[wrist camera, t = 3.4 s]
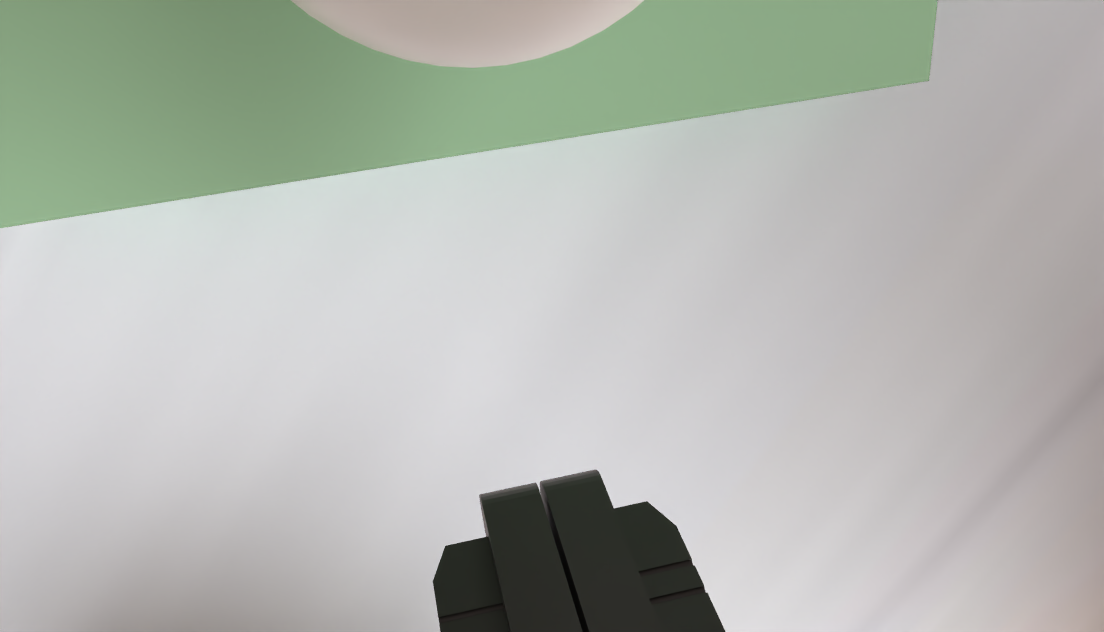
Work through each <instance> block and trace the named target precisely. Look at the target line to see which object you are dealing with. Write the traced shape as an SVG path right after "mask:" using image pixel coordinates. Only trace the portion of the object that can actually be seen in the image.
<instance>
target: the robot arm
mask: <svg viewBox="0 0 1104 632" xmlns="http://www.w3.org/2000/svg"><path fill="white" fill-rule="evenodd" d="M540 493H541V494H540ZM479 497H480V504H481V510H482V516H483V521H484V527H485V533H486V537H484V538H479V539H475V540H470V541H466V542H461V543H457V544H452V545H448V546H445V549H444V551H443V554H442V557H441V560H440V563H439V566H438V568H437V571H436V574H435V577H434V580H433V585H434V591H435V598H436V605H437V611H438V618H439V623H440V631H441V632H725V630H724V628H723V625H722V623H721V621H720V619H719V617H718V615H717V613H716V610H715V608H714V606H713V604H712V602H711V600H710V597H709V595H708V593H706V592H705V589H704V585H703V582H702V580H701V578H700V576H699V574H698V572H697V569H696V567H695V565H694V566H693V564H692V559H691V557H690V554H689V552H688V550H687V548H686V546H685V544H684V541H683V539H682V537H681V535H680V533H679V531H678V529H677V526H676V525H674V524H673V523H672V522H671V521H670V520H668V519H667V518H666V517H665V516H664V515H663V514H661V513H660V512H659V511H658V510H657V509H655V508H654V507H653V506H652V505H651V504H650V503H648V502H647V501H646V502H642V503H637V504H633V505H628V506H624V507H619V508H613V506H612V503H611V501H610V498H609V496H608V493H607V491H606V488H605V485H604V483H603V480H602V478H601V476H600V474H599V472H598V471H597V470H591V471H586V472H582V473H577V474H572V475H568V476H563V477H558V478H554V479H549V480H544V481H540V491H539V488H538V486H537V484H536V483H532V484H527V485H522V486H518V487H513V488H508V489H504V490H499V491H494V492H490V493H485V494H480V495H479Z"/></svg>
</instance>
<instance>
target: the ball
mask: <svg viewBox="0 0 1104 632" xmlns="http://www.w3.org/2000/svg"><path fill="white" fill-rule="evenodd" d="M291 1H292V2H293V3H295V4H296V5H297V6H298V7H300V8H301V9H302V10H303V11H305V12H306V13H307V14H308V15H310V16H311V17H313V18H315V19H316V20H318V21H319V22H321V23H323V24H324V25H326V26H327V27H329V28H331V29H332V30H334V31H336V32H337V33H339V34H340V35H342V36H345V37H347V38H349V39H351V40H353V41H355V42H358V43H360V44H362V45H364V46H366V47H368V48H371V49H373V50H376V51H379V52H382V53H385V54H388V55H391V56H395V57H398V58H401V59H404V60H408V61H413V62H419V63H425V64H430V65H436V66H444V67H465V68H479V67H491V66H503V65H510V64H515V63H519V62H524V61H528V60H533V59H538V58H541V57H544V56H547V55H550V54H552V53H555V52H558V51H561V50H564V49H566V48H569V47H572V46H574V45H576V44H578V43H580V42H582V41H584V40H586V39H587V38H589V37H591V36H593V35H595V34H597V33H599V32H601V31H603V30H605V29H606V28H608V27H609V26H611V25H612V24H614V23H615V22H617V21H618V20H620V19H621V18H623V17H624V16H625V15H627V14H628V13H630V12H631V11H633V10H634V9H635V8H636V7H637V6H638V5H639V4H641V3H642V2H643V1H644V0H291Z"/></svg>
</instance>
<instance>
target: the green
mask: <svg viewBox="0 0 1104 632" xmlns="http://www.w3.org/2000/svg"><path fill="white" fill-rule="evenodd" d="M937 1H938V0H644V1H643V2H642V3H641V4H639V5H638V6H637V7H636V8H635V9H634V10H633V11H631V12H630V13H628V14H627V15H625V16H624V17H623V18H621V19H620V20H618V21H617V22H615V23H614V24H612V25H611V26H609V27H608V28H606V29H605V30H603V31H601V32H599V33H597V34H595V35H593V36H591V37H589V38H587V39H586V40H584V41H582V42H580V43H578V44H576V45H574V46H572V47H569V48H566V49H564V50H561V51H558V52H555V53H552V54H550V55H547V56H544V57H541V58H538V59H533V60H528V61H524V62H519V63H515V64H510V65H503V66H491V67H479V68H465V67H444V66H436V65H430V64H425V63H419V62H413V61H408V60H404V59H401V58H398V57H395V56H391V55H388V54H385V53H382V52H379V51H376V50H373V49H371V48H368V47H366V46H364V45H362V44H360V43H358V42H355V41H353V40H351V39H349V38H347V37H345V36H342V35H340V34H339V33H337V32H336V31H334V30H332V29H331V28H329V27H327V26H326V25H324V24H323V23H321V22H319V21H318V20H316V19H315V18H313V17H311V16H310V15H308V14H307V13H306V12H305V11H303V10H302V9H301V8H300V7H298V6H297V5H296V4H295V3H293V2H292V1H291V0H0V228H4V227H11V226H17V225H23V224H29V223H36V222H42V221H48V220H55V219H61V218H67V217H74V216H80V215H86V214H92V213H99V212H105V211H111V210H118V209H124V208H130V207H137V206H143V205H149V204H155V203H162V202H168V201H174V200H181V199H187V198H193V197H200V196H206V195H212V194H218V193H225V192H231V191H237V190H244V189H250V188H256V187H263V186H269V185H275V184H281V183H288V182H294V181H300V180H307V179H313V178H319V177H326V176H332V175H338V174H344V173H351V172H357V171H363V170H370V169H376V168H382V167H389V166H395V165H401V164H407V163H414V162H420V161H426V160H433V159H439V158H445V157H452V156H458V155H464V154H470V153H477V152H483V151H489V150H496V149H502V148H508V147H515V146H521V145H527V144H533V143H540V142H546V141H552V140H559V139H565V138H571V137H578V136H584V135H590V134H596V133H603V132H609V131H615V130H622V129H628V128H634V127H641V126H647V125H653V124H659V123H666V122H672V121H678V120H685V119H691V118H697V117H703V116H710V115H716V114H722V113H729V112H735V111H741V110H748V109H754V108H760V107H766V106H773V105H779V104H785V103H792V102H798V101H804V100H811V99H817V98H823V97H829V96H836V95H842V94H848V93H855V92H861V91H867V90H874V89H880V88H886V87H892V86H899V85H905V84H911V83H918V82H924V81H929V75H930V66H931V56H932V47H933V38H934V28H935V19H936V10H937Z"/></svg>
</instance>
